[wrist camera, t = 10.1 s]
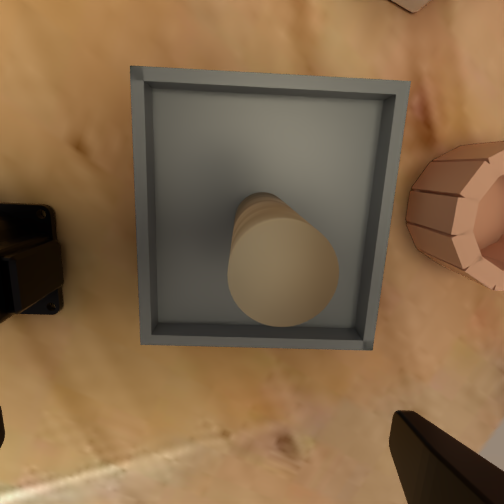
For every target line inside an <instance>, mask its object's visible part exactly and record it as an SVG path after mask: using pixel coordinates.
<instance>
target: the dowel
mask: <svg viewBox="0 0 504 504" xmlns="http://www.w3.org/2000/svg"><path fill="white" fill-rule="evenodd" d="M227 277H228V286H229V290H230V293H231V295H232V297H233V299H234V301H235V303H236V304H237V306H238V307H239V308H240V309H241V310H242V311H243V312H244V313H245V314H246V315H247V316H249V317H250V318H252V319H253V320H255V321H257V322H259V323H262V324H265V325H269V326H274V327H289V326H295V325H298V324H301V323H304V322H306V321H308V320H310V319H312V318H314V317H315V316H316V315H318V314H319V313H320V312H321V311H322V310H323V309H324V308H325V307H326V306H327V305H328V303H329V302H330V300H331V299H332V297H333V295H334V293H335V291H336V288H337V285H338V279H339V264H338V260H337V256H336V253H335V251H334V249H333V247H332V245H331V244H330V242H329V241H328V240H327V238H326V237H325V236H324V235H323V234H322V233H320V232H319V231H318V230H317V229H316V228H314V227H313V226H312V225H311V224H310V223H308V222H307V221H306V220H305V219H304V218H302V217H301V216H300V215H299V214H298V213H296V212H295V211H294V210H293V209H292V208H290V207H289V206H288V205H287V204H286V203H284V202H283V201H282V200H281V199H280V198H278V197H277V196H275V195H273V194H271V193H266V192H259V193H254V194H251V195H249V196H248V197H246V198H245V199H244V200H243V201H242V202H241V203H240V205H239V206H238V208H237V211H236V214H235V221H234V228H233V235H232V242H231V249H230V256H229V263H228V272H227Z"/></svg>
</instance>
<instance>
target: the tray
mask: <svg viewBox="0 0 504 504" xmlns="http://www.w3.org/2000/svg"><path fill="white" fill-rule="evenodd" d="M130 81H131V107H132V133H133V159H134V185H135V211H136V237H137V264H138V290H139V316H140V342H141V345H175V346H215V347H255V348H295V349H335V350H373V343H374V336H375V329H376V322H377V315H378V308H379V301H380V294H381V287H382V280H383V273H384V266H385V259H386V252H387V245H388V238H389V231H390V224H391V217H392V210H393V203H394V196H395V189H396V182H397V175H398V168H399V161H400V154H401V147H402V140H403V132H404V125H405V118H406V111H407V104H408V97H409V90H410V83H411V81H398V80H380V79H362V78H344V77H326V76H308V75H290V74H272V73H254V72H236V71H218V70H200V69H182V68H164V67H146V66H130ZM259 192H266V193H271V194H273V195H275V196H277V197H278V198H280V199H281V200H282V201H283V202H284V203H286V204H287V205H288V206H289V207H290V208H292V209H293V210H294V211H295V212H296V213H298V214H299V215H300V216H301V217H302V218H304V219H305V220H306V221H307V222H308V223H310V224H311V225H312V226H313V227H314V228H316V229H317V230H318V231H319V232H320V233H322V234H323V235H324V236H325V237H326V238H327V240H328V241H329V242H330V244H331V245H332V247H333V249H334V251H335V253H336V256H337V260H338V264H339V279H338V285H337V288H336V291H335V293H334V295H333V297H332V299H331V300H330V302H329V303H328V305H327V306H326V307H325V308H324V309H323V310H322V311H321V312H320V313H319V314H318V315H316V316H315V317H314V318H312V319H310V320H308V321H306V322H304V323H301V324H298V325H295V326H289V327H274V326H269V325H265V324H262V323H259V322H257V321H255V320H253V319H252V318H250V317H249V316H247V315H246V314H245V313H244V312H243V311H242V310H241V309H240V308H239V307H238V306H237V304H236V303H235V301H234V299H233V297H232V295H231V293H230V290H229V286H228V277H227V272H228V263H229V256H230V249H231V242H232V235H233V228H234V221H235V214H236V211H237V208H238V206H239V205H240V203H241V202H242V201H243V200H244V199H245V198H246V197H248V196H249V195H251V194H254V193H259Z"/></svg>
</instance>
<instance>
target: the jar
mask: <svg viewBox="0 0 504 504" xmlns="http://www.w3.org/2000/svg"><path fill="white" fill-rule="evenodd" d="M391 1H393V2H395V3H396V4H398V5H400V6H402V7H403V8H405V9H407V10H408V11H410V12H412V13H415V12H417V11H419V10H420V9H421V8H423V7H424V6H426V5H427V4H428V3H430V2H431V1H432V0H391Z"/></svg>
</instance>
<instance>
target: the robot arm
mask: <svg viewBox="0 0 504 504" xmlns="http://www.w3.org/2000/svg"><path fill="white" fill-rule="evenodd" d="M41 210H44V211H45V213H46V217H43V216H42V215H41ZM62 284H63V272H62V261H61V250H60V244H59V242H58V241H57V236H56V226H55V215H54V211H53V209H52V208H51V207H50V206H48V205H45V204H23V203H0V323H2V322H3V321H5V320H6V319H8V318H10V317H11V316H13V315H14V314H46V315H53V314H56V313H58V312H59V311H60V310H61V309H62V308H63V299H62V289H61V285H62ZM50 303H53V304H54V305H55V308H53V307H51V305H50ZM4 438H5V429H4V423H3V416H2V410H1V406H0V448H1V446H2V444H3V441H4ZM389 447H390V452H391V455H392V458H393V461H394V464H395V467H396V470H397V473H398V476H399V479H400V482H401V485H402V488H403V491H404V494H405V497H406V500H407V503H408V504H504V471H502V470H501V469H499V468H498V467H496V466H495V465H493V464H492V463H490V462H489V461H487V460H486V459H484V458H483V457H482V456H480V455H478V454H477V453H476V452H474V451H473V450H471V449H470V448H468V447H467V446H465V445H464V444H462V443H461V442H459V441H458V440H456V439H455V438H453V437H452V436H450V435H449V434H447V433H446V432H444V431H443V430H441V429H440V428H438V427H437V426H435V425H434V424H432V423H431V422H429V421H428V420H426V419H425V418H423V417H422V416H420V415H419V414H417V413H416V412H414V411H406V410H398V411H396V412H395V413H394V415H393V419H392V425H391V431H390V437H389Z"/></svg>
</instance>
